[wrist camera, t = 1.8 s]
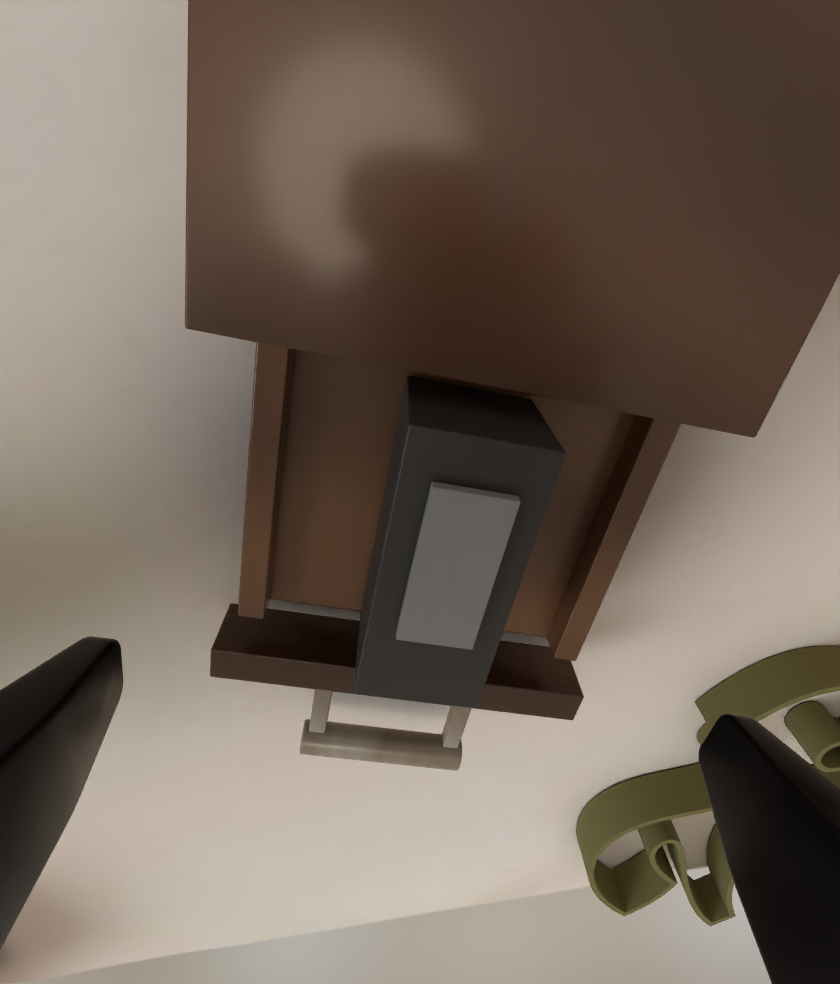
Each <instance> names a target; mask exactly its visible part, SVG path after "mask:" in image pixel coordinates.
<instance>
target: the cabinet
mask: <svg viewBox="0 0 840 984" xmlns="http://www.w3.org/2000/svg"><path fill="white" fill-rule="evenodd" d="M839 274H840V0H188V79H187V178H186V277H185V327H186V328H187V329H191V330H196V331H202V332H207V333H212V334H217V335H222V336H228V337H233V338H238V339H243V340H248V341H254V342H259V343H264V344H269V345H274V346H280V347H285V348H290V349H295V350H300V351H306V352H311V353H316V354H321V355H326V356H332V357H337V358H342V359H347V360H352V361H358V362H363V363H368V364H373V365H378V366H384V367H389V368H394V369H399V370H405V371H410V372H415V373H420V374H425V375H431V376H436V377H441V378H446V379H451V380H457V381H462V382H467V383H472V384H477V385H483V386H488V387H493V388H498V389H503V390H509V391H514V392H519V393H524V394H529V395H535V396H540V397H545V398H550V399H555V400H561V401H566V402H571V403H576V404H581V405H587V406H592V407H597V408H602V409H608V410H613V411H618V412H623V413H628V414H634V415H639V416H644V417H649V418H654V419H660V420H665V421H670V422H675V423H680V424H686V425H691V426H696V427H701V428H706V429H712V430H717V431H722V432H727V433H732V434H738V435H743V436H748V437H755V436H756V435H757V433H758V431H759V429H760V427H761V425H762V423H763V421H764V419H765V417H766V415H767V413H768V412H769V410H770V408H771V406H772V404H773V402H774V400H775V398H776V396H777V394H778V392H779V390H780V388H781V386H782V384H783V382H784V380H785V379H786V377H787V375H788V373H789V371H790V369H791V367H792V365H793V363H794V361H795V359H796V357H797V355H798V353H799V351H800V349H801V347H802V346H803V344H804V342H805V340H806V338H807V336H808V334H809V332H810V330H811V328H812V326H813V324H814V322H815V320H816V318H817V316H818V314H819V313H820V311H821V309H822V307H823V305H824V303H825V301H826V299H827V297H828V295H829V293H830V291H831V289H832V287H833V285H834V283H835V281H836V280H837V278H838V276H839Z"/></svg>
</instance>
